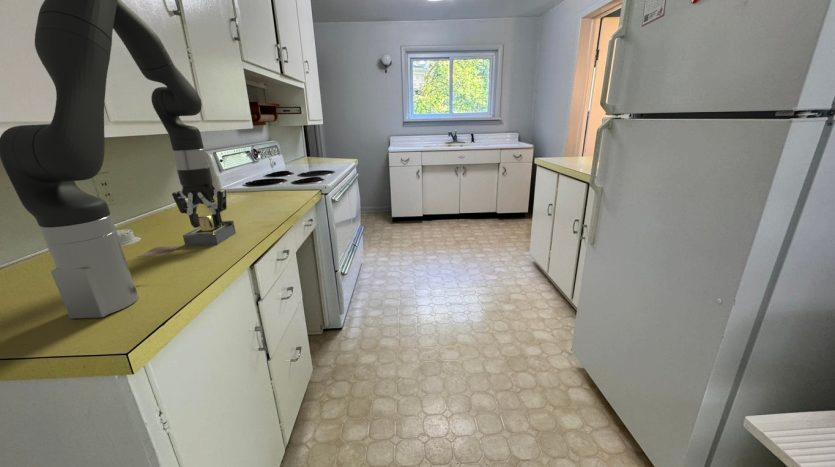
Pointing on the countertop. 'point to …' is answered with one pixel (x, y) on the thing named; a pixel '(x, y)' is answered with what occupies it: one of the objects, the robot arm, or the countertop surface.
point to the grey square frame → (210, 235)
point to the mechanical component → (127, 237)
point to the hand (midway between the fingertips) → (207, 226)
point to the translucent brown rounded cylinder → (206, 223)
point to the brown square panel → (159, 251)
